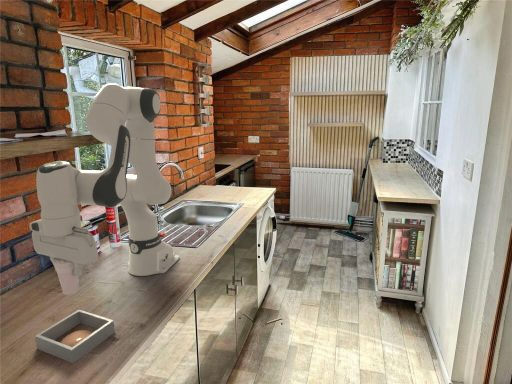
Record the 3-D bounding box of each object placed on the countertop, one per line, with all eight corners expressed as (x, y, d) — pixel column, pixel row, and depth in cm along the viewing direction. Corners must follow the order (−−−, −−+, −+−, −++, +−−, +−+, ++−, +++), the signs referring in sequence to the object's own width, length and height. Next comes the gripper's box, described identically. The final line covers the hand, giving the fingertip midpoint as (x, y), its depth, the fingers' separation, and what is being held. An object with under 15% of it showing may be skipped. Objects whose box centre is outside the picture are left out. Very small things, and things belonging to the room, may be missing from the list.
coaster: (79, 328, 104) (79, 327, 104) (99, 335, 101) (98, 334, 101) (54, 345, 97) (54, 343, 96) (75, 353, 93) (75, 351, 93)
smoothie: (87, 285, 98) (82, 239, 95) (77, 297, 92) (70, 248, 89) (64, 285, 98) (58, 239, 95) (52, 297, 92) (45, 248, 88)
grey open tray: (80, 320, 108) (79, 309, 107) (114, 332, 102) (113, 320, 101) (37, 348, 95) (35, 336, 94) (73, 363, 90) (71, 350, 89)
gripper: (101, 226, 89) (106, 275, 93) (47, 216, 97) (53, 261, 100) (80, 234, 84) (86, 286, 87) (24, 223, 92) (32, 271, 95)
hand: (68, 273), depth 94 cm, fingers closed on smoothie, 5 cm apart
